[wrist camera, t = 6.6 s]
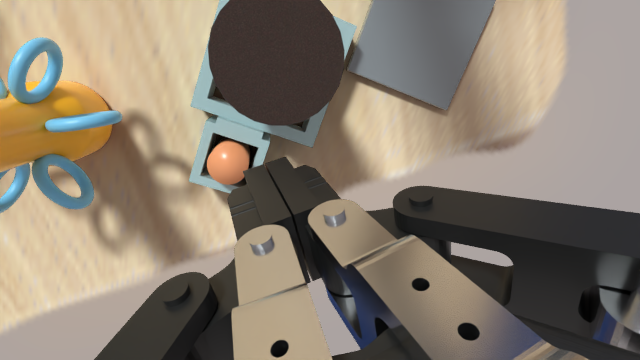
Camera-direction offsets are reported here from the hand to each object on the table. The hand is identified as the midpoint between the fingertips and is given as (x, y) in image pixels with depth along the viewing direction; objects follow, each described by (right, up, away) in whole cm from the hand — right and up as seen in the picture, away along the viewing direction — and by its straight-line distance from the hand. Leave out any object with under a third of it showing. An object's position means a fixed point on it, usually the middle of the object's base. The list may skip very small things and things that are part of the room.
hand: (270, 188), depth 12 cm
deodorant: (-2, +10, +18) cm, 20 cm away
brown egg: (-6, +3, +18) cm, 19 cm away
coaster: (+10, +13, +18) cm, 25 cm away
